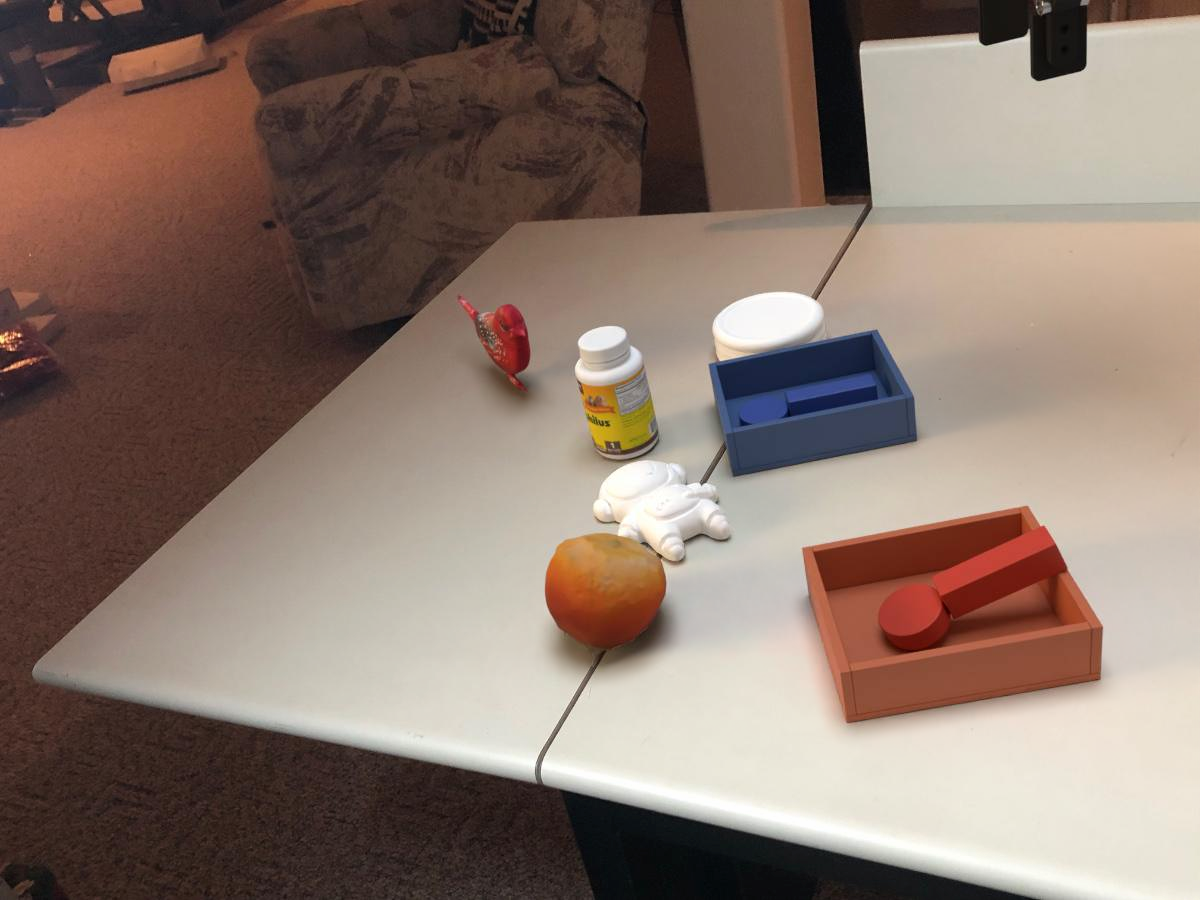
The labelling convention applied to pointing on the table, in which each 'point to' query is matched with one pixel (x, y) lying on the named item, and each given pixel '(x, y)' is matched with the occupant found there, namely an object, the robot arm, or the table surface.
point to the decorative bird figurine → (503, 338)
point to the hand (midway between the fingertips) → (1029, 56)
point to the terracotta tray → (972, 642)
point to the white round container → (767, 324)
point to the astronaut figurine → (660, 506)
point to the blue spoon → (809, 400)
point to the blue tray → (816, 430)
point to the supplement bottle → (615, 394)
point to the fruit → (604, 590)
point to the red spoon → (968, 588)
